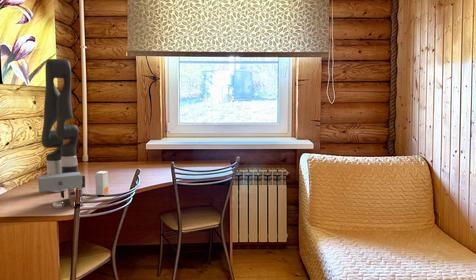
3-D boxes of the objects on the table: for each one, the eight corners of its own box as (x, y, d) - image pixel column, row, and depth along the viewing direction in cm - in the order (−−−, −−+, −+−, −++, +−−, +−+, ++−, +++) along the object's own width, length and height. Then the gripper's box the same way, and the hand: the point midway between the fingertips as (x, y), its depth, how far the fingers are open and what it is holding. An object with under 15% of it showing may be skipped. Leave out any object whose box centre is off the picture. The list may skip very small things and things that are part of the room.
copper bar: (68, 198, 218) (67, 187, 217) (73, 198, 219) (72, 186, 218) (71, 207, 201) (70, 194, 201) (76, 206, 202) (75, 194, 202)
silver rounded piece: (52, 206, 203) (51, 202, 203) (63, 204, 206) (63, 200, 205) (53, 208, 199) (53, 204, 199) (65, 207, 201) (64, 202, 201)
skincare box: (103, 196, 221) (102, 173, 220) (95, 195, 222) (94, 173, 220) (109, 193, 227) (107, 171, 226) (101, 192, 228) (100, 170, 226)
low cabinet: (40, 206, 203) (37, 175, 201) (81, 201, 211) (79, 171, 209) (40, 211, 194) (38, 179, 192) (83, 206, 202) (81, 175, 200)
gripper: (83, 162, 219) (85, 193, 221) (53, 164, 213) (55, 197, 215) (85, 164, 212) (87, 197, 214) (54, 167, 206) (56, 200, 208)
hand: (71, 196), depth 215 cm, fingers open, 7 cm apart
